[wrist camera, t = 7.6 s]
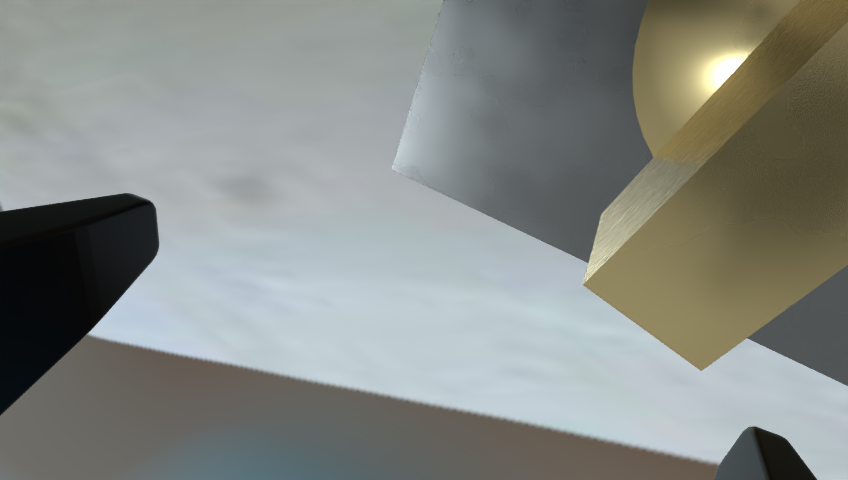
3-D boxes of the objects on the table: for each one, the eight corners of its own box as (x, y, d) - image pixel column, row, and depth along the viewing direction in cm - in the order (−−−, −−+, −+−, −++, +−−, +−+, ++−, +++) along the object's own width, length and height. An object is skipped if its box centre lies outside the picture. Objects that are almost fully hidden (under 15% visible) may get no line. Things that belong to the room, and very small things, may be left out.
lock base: (414, 149, 21) (364, 194, 17) (643, -557, 12) (628, -740, 8) (874, 362, 18) (916, 461, 15) (1607, -312, 9) (2110, -431, 6)
